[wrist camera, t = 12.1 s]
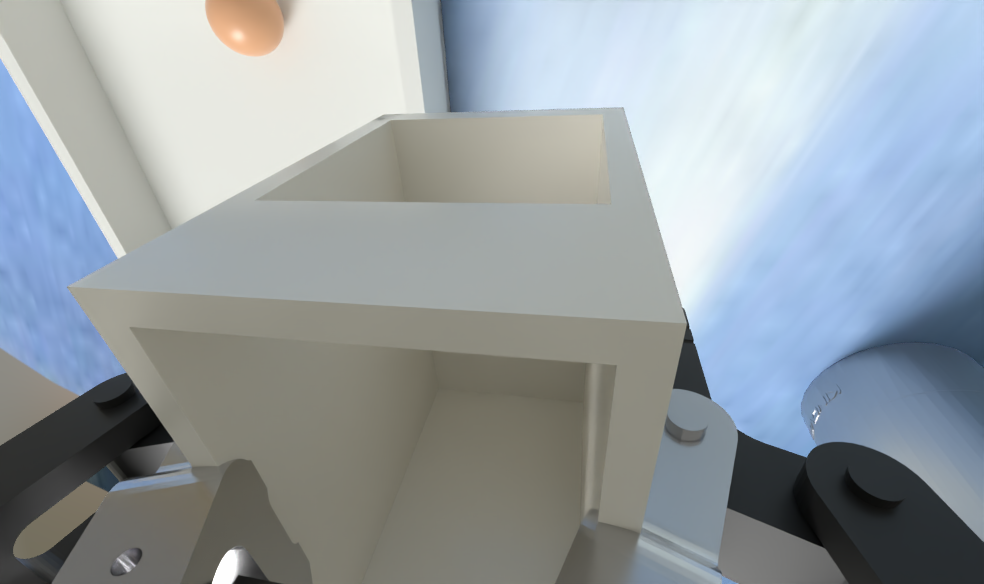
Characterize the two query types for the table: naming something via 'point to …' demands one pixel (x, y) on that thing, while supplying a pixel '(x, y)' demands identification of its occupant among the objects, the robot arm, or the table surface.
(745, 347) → the table surface
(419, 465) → the open box
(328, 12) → the tray
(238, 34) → the ball
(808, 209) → the table surface
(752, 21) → the table surface
